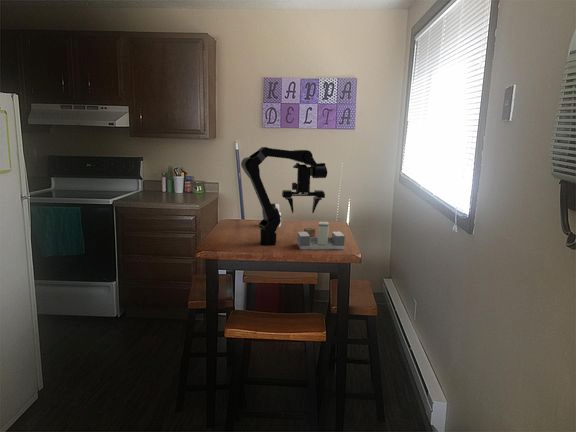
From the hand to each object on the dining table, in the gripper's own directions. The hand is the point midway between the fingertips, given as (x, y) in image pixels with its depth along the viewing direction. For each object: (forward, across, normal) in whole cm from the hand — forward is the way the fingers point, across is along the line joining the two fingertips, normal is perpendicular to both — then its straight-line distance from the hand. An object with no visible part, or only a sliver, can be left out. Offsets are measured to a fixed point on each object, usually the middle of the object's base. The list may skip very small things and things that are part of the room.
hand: (302, 213), depth 199 cm
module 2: (+11, -14, +11) cm, 21 cm away
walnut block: (+13, -5, -9) cm, 17 cm away
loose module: (+12, -8, +10) cm, 17 cm away
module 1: (+11, +1, +11) cm, 16 cm away
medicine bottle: (+13, +10, -34) cm, 38 cm away
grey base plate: (+13, -6, +10) cm, 18 cm away
